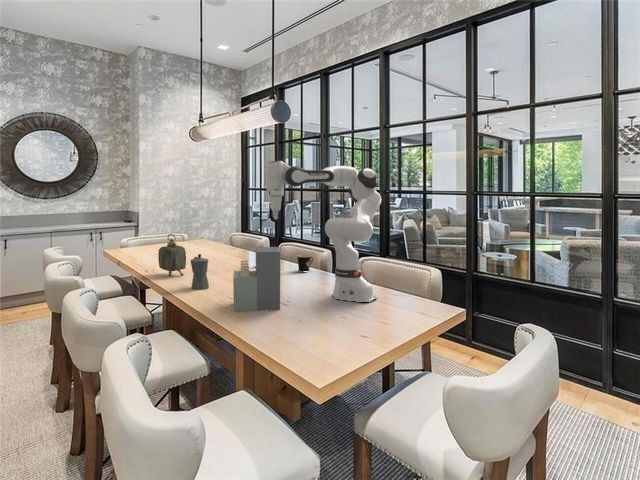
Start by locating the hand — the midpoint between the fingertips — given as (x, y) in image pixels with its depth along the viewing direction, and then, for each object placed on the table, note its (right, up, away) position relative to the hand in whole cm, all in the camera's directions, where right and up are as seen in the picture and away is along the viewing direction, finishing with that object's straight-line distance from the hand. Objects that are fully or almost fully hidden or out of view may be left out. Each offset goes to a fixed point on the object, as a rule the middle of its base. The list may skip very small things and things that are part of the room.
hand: (275, 218), depth 211 cm
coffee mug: (+15, -32, +46) cm, 58 cm away
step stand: (-5, -41, -30) cm, 52 cm away
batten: (-11, -26, -28) cm, 40 cm away
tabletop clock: (-64, -33, +26) cm, 77 cm away
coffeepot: (-40, -37, +1) cm, 55 cm away
